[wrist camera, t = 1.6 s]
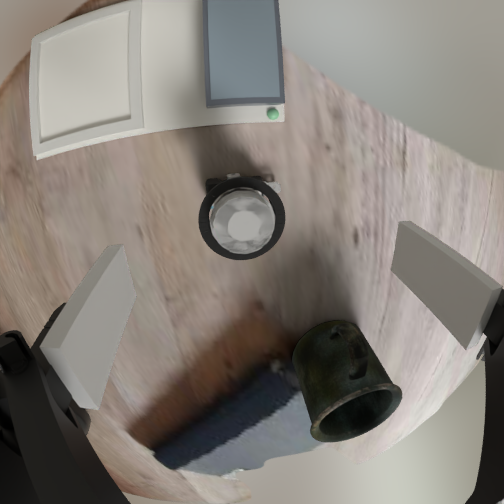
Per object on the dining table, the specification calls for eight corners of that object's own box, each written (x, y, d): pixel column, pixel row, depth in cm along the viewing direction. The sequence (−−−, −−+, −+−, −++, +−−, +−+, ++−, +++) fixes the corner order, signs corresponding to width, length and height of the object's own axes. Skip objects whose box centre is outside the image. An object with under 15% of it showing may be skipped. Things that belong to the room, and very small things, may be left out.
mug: (289, 381, 38) (309, 451, 27) (283, 304, 31) (312, 386, 21) (358, 363, 38) (390, 424, 28) (369, 284, 32) (422, 350, 21)
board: (40, 158, 21) (34, 160, 20) (38, 36, 15) (32, 34, 14) (282, 121, 23) (285, 121, 22) (274, -10, 17) (277, -15, 16)
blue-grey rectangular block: (207, 108, 21) (206, 106, 19) (203, -1, 17) (202, -13, 14) (278, 105, 22) (285, 103, 19) (271, -2, 17) (277, -13, 15)
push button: (275, 157, 25) (310, 175, 16) (278, 212, 27) (309, 259, 18) (201, 163, 24) (191, 186, 15) (207, 220, 26) (204, 271, 17)
